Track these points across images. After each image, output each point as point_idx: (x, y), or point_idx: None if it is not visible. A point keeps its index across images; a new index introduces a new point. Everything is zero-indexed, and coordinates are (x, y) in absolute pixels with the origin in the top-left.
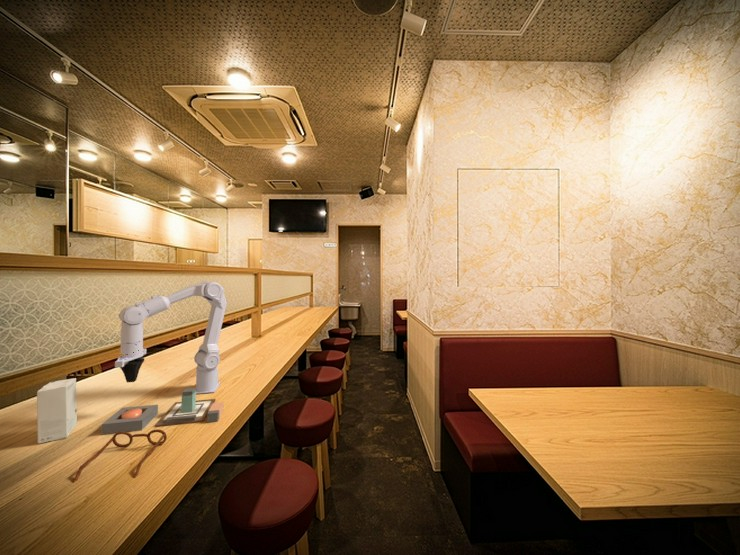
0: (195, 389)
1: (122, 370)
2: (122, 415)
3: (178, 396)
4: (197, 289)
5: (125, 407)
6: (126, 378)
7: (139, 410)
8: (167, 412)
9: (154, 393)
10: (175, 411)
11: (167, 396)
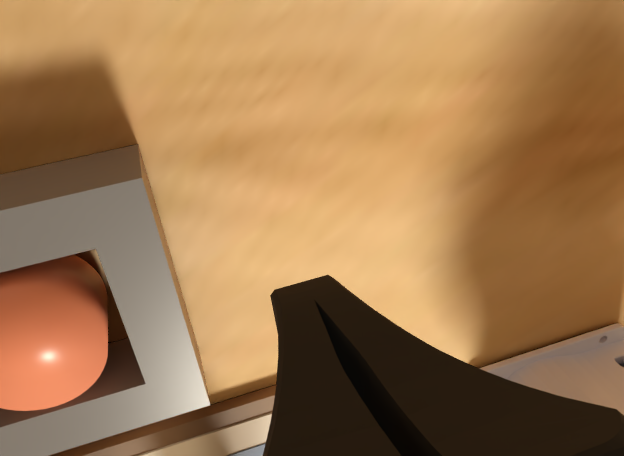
0: (530, 360)
1: (267, 448)
2: None
3: (459, 306)
4: None
5: (146, 205)
6: (281, 332)
7: (71, 384)
8: (187, 428)
9: (561, 92)
10: None
11: (476, 233)
